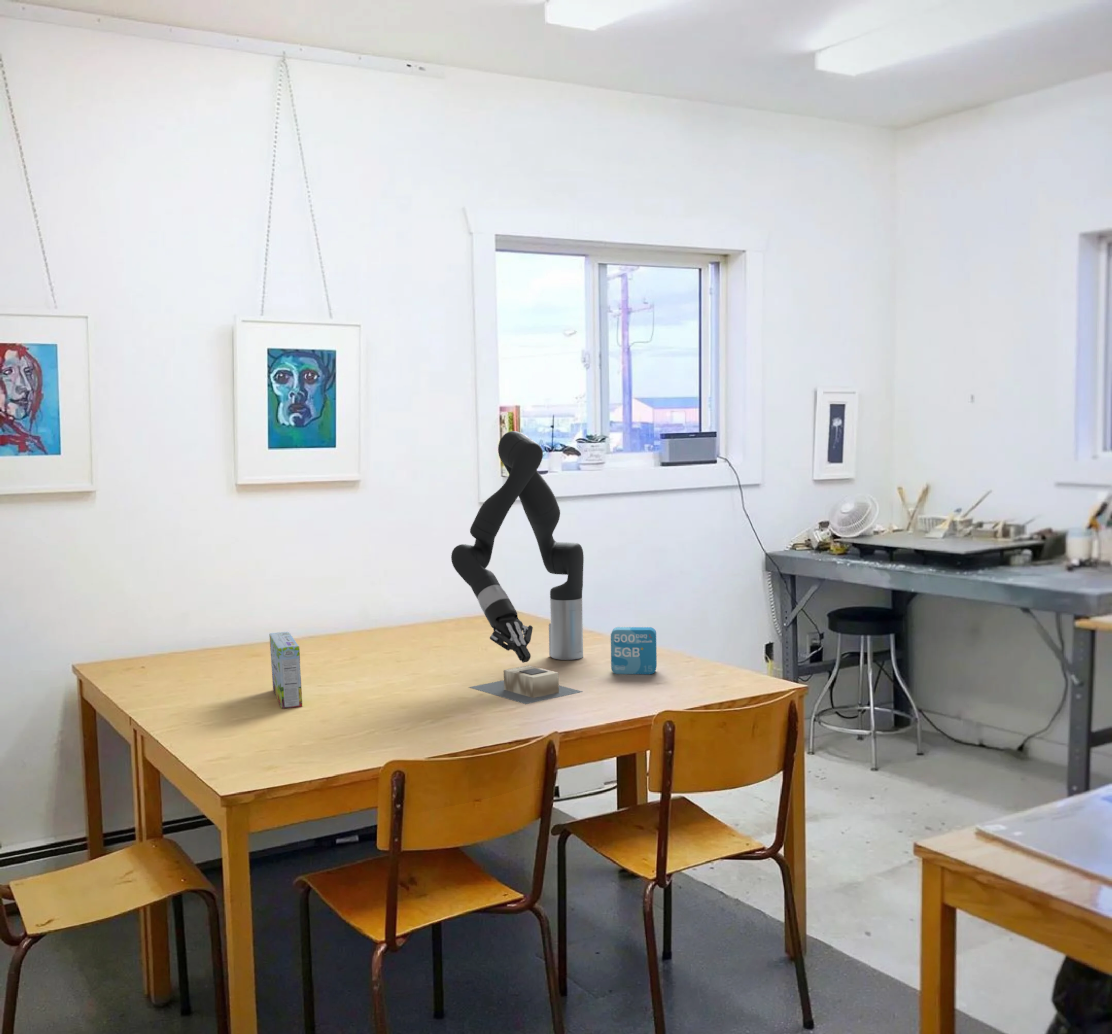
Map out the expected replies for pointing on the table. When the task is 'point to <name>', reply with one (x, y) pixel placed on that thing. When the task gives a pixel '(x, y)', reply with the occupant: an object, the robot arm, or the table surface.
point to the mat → (498, 690)
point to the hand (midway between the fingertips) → (526, 660)
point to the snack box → (286, 669)
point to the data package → (633, 650)
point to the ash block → (531, 681)
